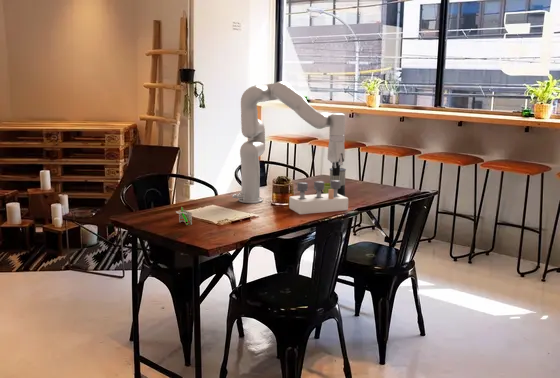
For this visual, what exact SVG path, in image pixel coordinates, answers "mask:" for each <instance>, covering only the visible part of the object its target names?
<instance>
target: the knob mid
mask: <svg viewBox="0 0 560 378" xmlns="http://www.w3.org/2000/svg"><path fill="white" fill-rule="evenodd" d="M324 183H325V181H323V180H316V181H315V180H314V181H313V189H314V190H315V191H316V190H317V191H316V194H317V198H321V194H322V193H321V190H322V191H323V190H324Z"/></svg>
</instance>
